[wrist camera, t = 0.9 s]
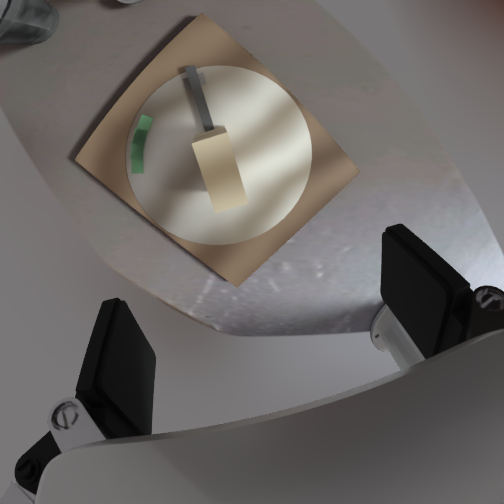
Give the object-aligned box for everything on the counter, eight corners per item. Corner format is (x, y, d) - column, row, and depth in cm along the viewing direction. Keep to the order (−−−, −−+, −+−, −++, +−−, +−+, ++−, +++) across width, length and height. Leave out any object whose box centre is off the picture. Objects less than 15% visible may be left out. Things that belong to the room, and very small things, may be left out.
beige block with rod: (241, 183, 31) (248, 203, 25) (214, 191, 31) (215, 213, 25) (204, 62, 25) (203, 53, 19) (175, 71, 25) (166, 65, 19)
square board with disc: (354, 168, 33) (361, 172, 32) (236, 280, 38) (237, 288, 36) (202, 16, 24) (201, 12, 22) (80, 156, 29) (73, 160, 27)
